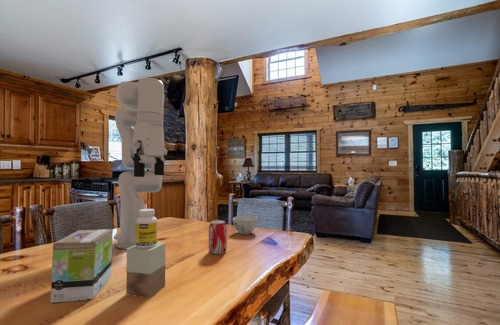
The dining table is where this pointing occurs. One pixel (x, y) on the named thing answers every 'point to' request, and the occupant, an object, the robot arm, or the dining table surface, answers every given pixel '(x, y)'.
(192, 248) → the dining table surface
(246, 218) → the teacup
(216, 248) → the soda can
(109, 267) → the tea box
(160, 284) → the bottom block
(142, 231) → the supplement bottle
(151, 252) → the top block
